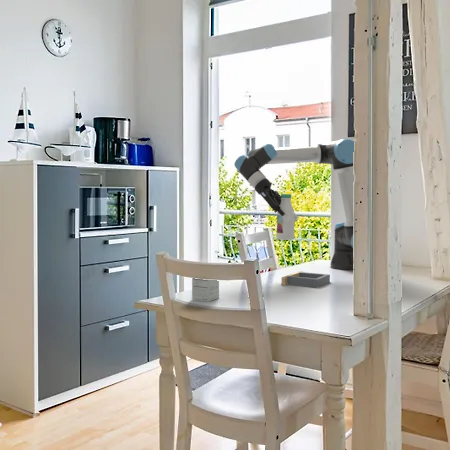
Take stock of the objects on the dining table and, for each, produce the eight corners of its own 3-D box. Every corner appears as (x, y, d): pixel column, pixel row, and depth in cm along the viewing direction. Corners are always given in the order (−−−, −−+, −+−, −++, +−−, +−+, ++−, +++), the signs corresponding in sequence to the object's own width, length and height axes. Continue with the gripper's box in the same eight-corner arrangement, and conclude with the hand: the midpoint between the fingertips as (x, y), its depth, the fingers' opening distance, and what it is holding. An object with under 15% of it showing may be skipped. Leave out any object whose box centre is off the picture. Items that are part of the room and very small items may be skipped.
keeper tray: (299, 278, 250) (299, 270, 250) (331, 281, 243) (331, 273, 242) (281, 284, 233) (281, 277, 232) (315, 288, 225) (315, 280, 225)
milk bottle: (293, 238, 252) (294, 194, 250) (294, 240, 244) (295, 194, 243) (276, 238, 252) (277, 193, 251) (276, 239, 245) (277, 194, 243)
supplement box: (202, 296, 207) (202, 262, 206) (219, 298, 203) (219, 264, 202) (191, 299, 200) (191, 264, 200) (208, 302, 197) (208, 266, 196)
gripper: (264, 189, 263) (295, 224, 256) (244, 189, 245) (277, 227, 238) (274, 177, 260) (307, 213, 253) (255, 177, 242) (289, 215, 235)
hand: (292, 220), depth 246 cm, fingers closed on milk bottle, 7 cm apart
